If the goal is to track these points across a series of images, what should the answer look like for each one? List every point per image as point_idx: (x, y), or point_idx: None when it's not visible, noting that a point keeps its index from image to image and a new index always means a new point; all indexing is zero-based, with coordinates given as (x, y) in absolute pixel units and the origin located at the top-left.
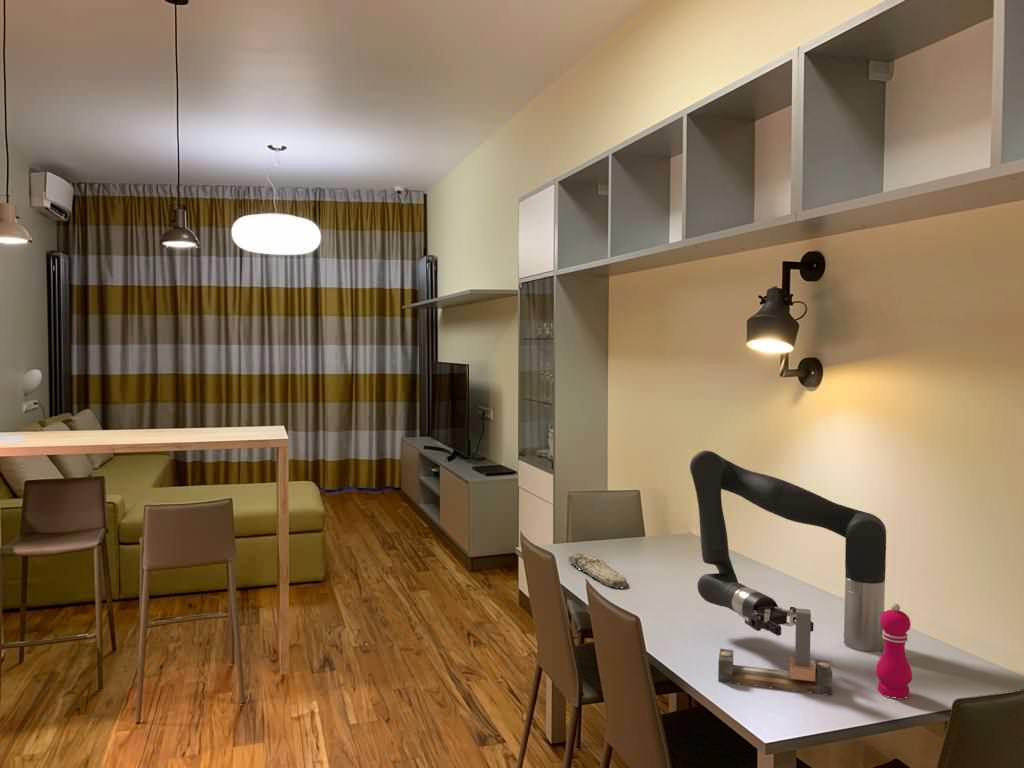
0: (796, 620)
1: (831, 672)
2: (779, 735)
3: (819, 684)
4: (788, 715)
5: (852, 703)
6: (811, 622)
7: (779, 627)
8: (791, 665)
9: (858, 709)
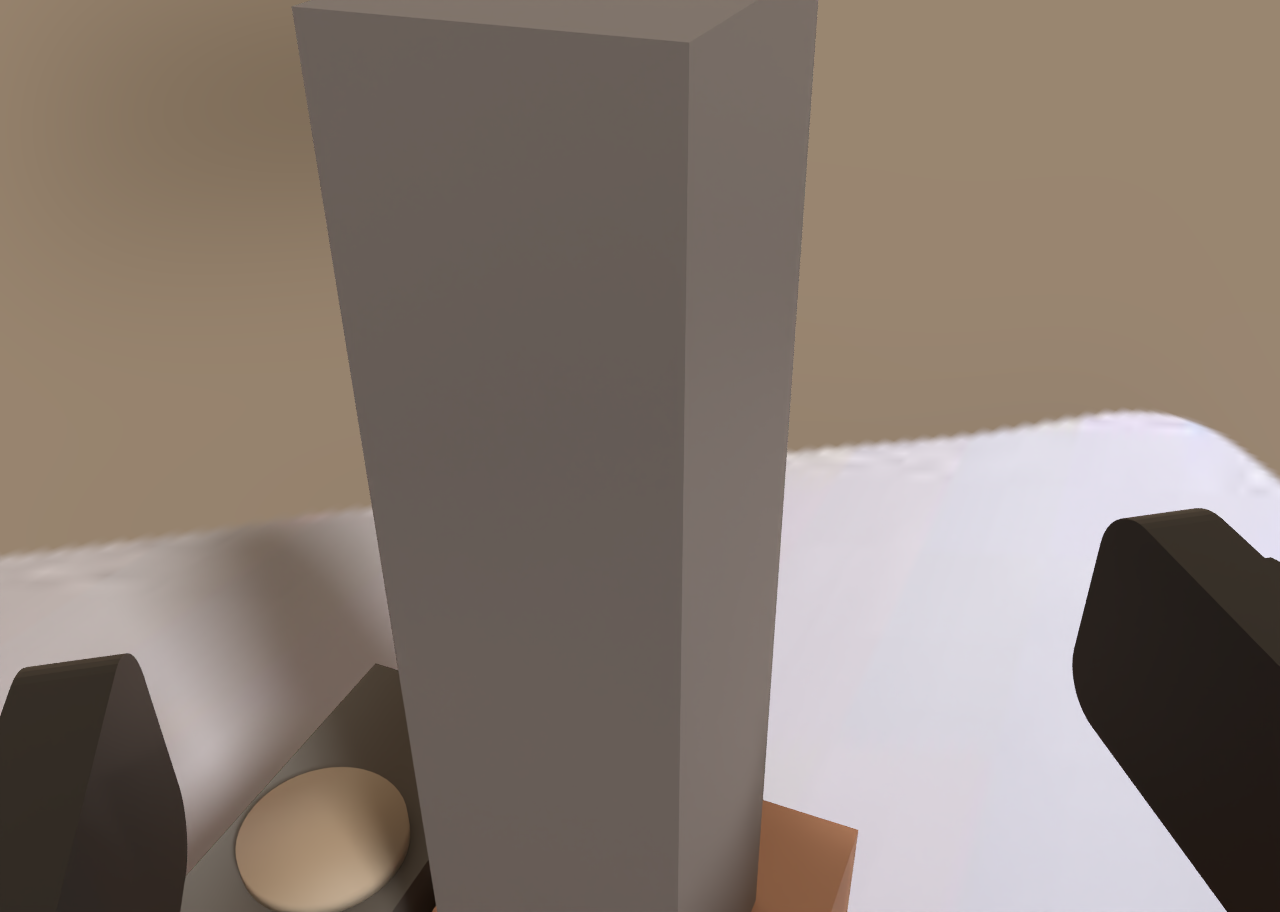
0: (802, 173)
1: (369, 680)
2: (1106, 431)
3: None
4: (995, 595)
5: (322, 713)
6: (67, 663)
7: (1158, 516)
8: (822, 900)
9: (355, 631)
